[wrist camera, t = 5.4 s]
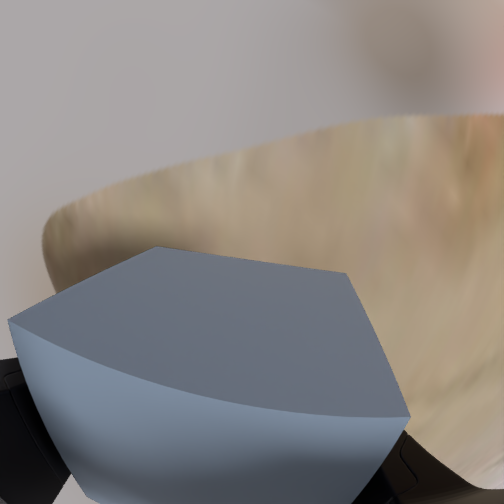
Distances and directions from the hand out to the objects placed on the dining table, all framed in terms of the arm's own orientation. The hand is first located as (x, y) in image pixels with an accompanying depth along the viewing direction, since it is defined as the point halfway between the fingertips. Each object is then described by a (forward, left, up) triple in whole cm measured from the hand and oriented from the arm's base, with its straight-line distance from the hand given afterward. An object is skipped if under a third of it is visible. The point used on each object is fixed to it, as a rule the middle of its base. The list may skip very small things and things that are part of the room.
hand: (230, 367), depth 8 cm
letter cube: (0, 0, -1) cm, 1 cm away
